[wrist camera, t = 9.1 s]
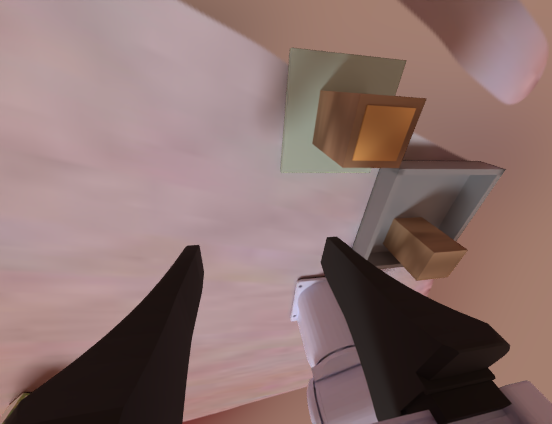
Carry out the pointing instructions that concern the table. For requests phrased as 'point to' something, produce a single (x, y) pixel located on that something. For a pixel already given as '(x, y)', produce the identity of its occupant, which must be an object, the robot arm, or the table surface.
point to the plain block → (423, 248)
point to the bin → (423, 201)
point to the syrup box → (12, 408)
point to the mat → (305, 97)
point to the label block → (365, 128)
